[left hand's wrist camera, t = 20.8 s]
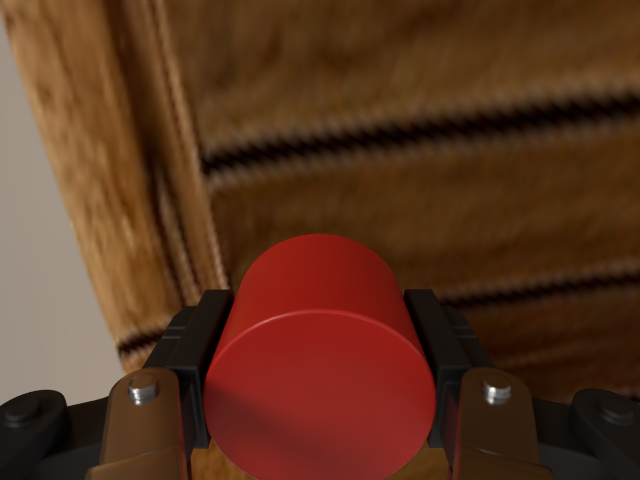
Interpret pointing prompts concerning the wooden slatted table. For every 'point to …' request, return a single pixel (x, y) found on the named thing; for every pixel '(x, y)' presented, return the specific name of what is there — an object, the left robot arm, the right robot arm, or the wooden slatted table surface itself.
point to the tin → (319, 367)
